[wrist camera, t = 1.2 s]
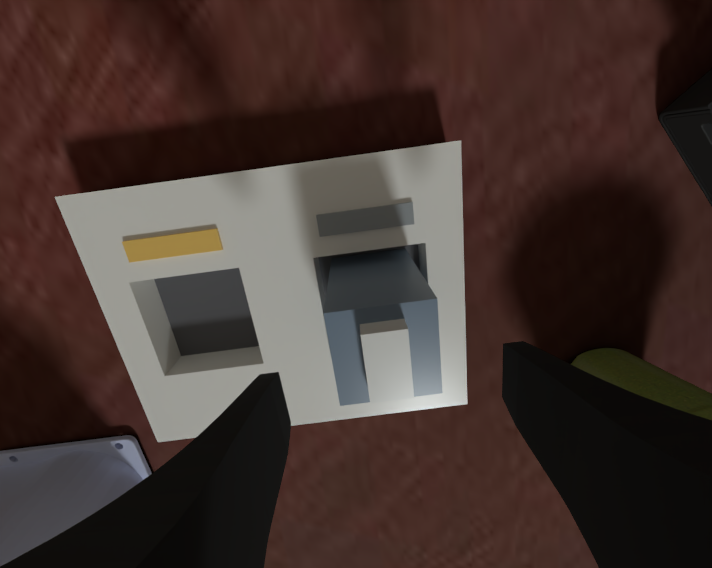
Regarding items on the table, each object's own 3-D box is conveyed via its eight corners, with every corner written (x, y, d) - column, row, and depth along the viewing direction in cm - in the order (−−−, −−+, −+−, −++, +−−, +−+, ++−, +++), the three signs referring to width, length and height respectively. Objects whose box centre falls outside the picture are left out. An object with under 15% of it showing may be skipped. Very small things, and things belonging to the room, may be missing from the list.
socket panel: (176, 413, 22) (155, 445, 20) (91, 191, 18) (51, 197, 15) (455, 378, 22) (468, 406, 20) (446, 142, 17) (462, 140, 15)
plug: (342, 324, 20) (339, 420, 13) (331, 258, 19) (322, 323, 11) (411, 315, 20) (448, 407, 13) (405, 248, 19) (443, 307, 11)
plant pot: (681, 313, 21) (895, 413, 13) (653, 435, 24) (809, 577, 16) (526, 330, 21) (639, 440, 13) (518, 450, 24) (604, 598, 16)
